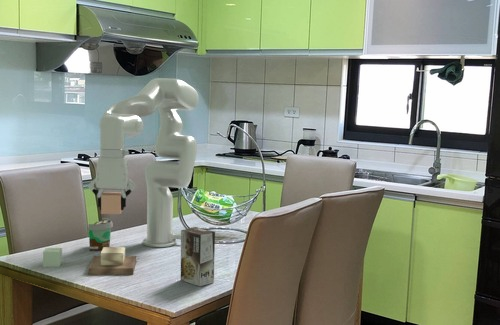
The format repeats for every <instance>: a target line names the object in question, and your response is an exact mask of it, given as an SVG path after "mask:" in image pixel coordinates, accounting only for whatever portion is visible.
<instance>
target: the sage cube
mask: <svg viewBox="0 0 500 325" xmlns="http://www.w3.org/2000/svg"><path fill="white" fill-rule="evenodd" d="M62 252H63V248H62V247H46V248H45V249H44V250H43V251H42V267H43V268H45V267H46V268H47V267H49V268H51V267H55V268H57V267H58V268H59V267H60V265H61V264H63V263H62V262H63V260H62V259H63V258H62V257H63V255H62V254H63V253H62Z"/></svg>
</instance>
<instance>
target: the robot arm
mask: <svg viewBox="0 0 500 325" xmlns="http://www.w3.org/2000/svg"><path fill="white" fill-rule="evenodd" d="M199 100H200V97H199V94H198V91H197V90H196V89H195V88H194V87H193V86H191V85H190V84H189V83H187V82H185V81H183V80H182V79H179V78H165V77H164V78H163V77H162V78H161V77H157V78H152V79H151V80H149V82H147V84H146V85H145V86H144V87H143V88H141V90H140V91H139V92H137V93H136V94H135V95H133V96H130V97H128V98H126V99H123V100H121V101H118V102H116V103H114V104H113V105H111V106H110V107H108V109H106V111H104V113H103V114H102V115H101V118H100V119H99V125H98V126H99V129H100V131H99V133H100V138H99V139H100V141H99V142H100V144H99V145H100V147H99V150H100V154H99V155H100V156H99V157H98V158H97V163H96V168H95V169H96V172H95V178H94V179H93V180H91V181H90V183H89V184H87V188H88V189H89V190H90V191H91V192H92V193H93V195H95V196H96V197H97V207H98V208H99V211H101V195H102V194H103V192H105V191H104V190H119V192H121V194H122V198H121V210H122V211H124V210H125V208H126V206H127V197H128V196H129V195H130V194H131V193H132V192H134V190H136V188H137V187H138V186H137V185H136V184H135V182H134V181H133V180H131V178H130V177H129V164H128V158H127V157H125V156H129V155H130V151H129V150H126V149H125V138H136V137H138V136H140V135H141V134H142V132H143V130H144V122H143V119H142V118H145V117H149V116H151V115H153V114H154V113H155V112H156V111H158V113H159V117H160V124H159V129H158V133H157V137H156V142H155V148H154V153H155V155H156V156H157V157H159V158H161V159H165V160H152V161H150V162H149V163H147V165H146V166H145V169H144V177H145V183H146V187H147V188H146V189H147V190H146V191H147V192H146V193H147V199H146V200H147V204H146V206H147V208H146V210H147V212H146V219H147V220H146V237H145V238H144V239H142V244H143V245H144V246H147V247H151V248H167V247H172V246H174V245H176V244H177V240H181V233H175V232H174V230H173V221H174V220H173V218H174V216H173V213H174V211H173V210H174V197H173V193H172V192H171V190H170V188H175V189H176V188H177V189H185V188H187V187H188V186H189V185H190V183H191V180H192V177H193V172H194V168H195V163H196V159H197V155H198V154H197V153H198V145H197V144H198V143H197V140H196V138H195V137H193V136H191V135H188V134H187V135H186V134H182V131H183V126H184V124H183V121H182V118H181V117H180V115H179V114H178V112H177V111H194V110H195V109H196V108H197V107H198V106H199ZM166 159H167V160H166ZM170 160H175V161H170ZM176 160H177V161H176ZM129 186H130V188H128V187H129ZM126 189H127V190H126Z"/></svg>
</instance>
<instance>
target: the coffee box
mask: <svg viewBox="0 0 500 325" xmlns="http://www.w3.org/2000/svg"><path fill="white" fill-rule="evenodd" d="M180 234H181V239H180V281H182V282H186V283H189V284H191V285H194V286H197V287H203V286H206V285H210V284H213V283H214V282H215V251H216V250H215V248H216V247H215V246H216V241H215V240H216V231H214V230H210V229H205V228H201V227H197V226H193V227H189V228H186V229H181V230H180Z"/></svg>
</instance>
